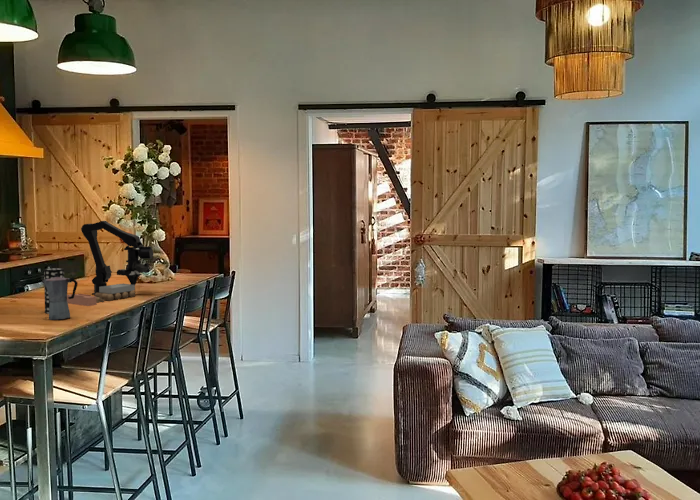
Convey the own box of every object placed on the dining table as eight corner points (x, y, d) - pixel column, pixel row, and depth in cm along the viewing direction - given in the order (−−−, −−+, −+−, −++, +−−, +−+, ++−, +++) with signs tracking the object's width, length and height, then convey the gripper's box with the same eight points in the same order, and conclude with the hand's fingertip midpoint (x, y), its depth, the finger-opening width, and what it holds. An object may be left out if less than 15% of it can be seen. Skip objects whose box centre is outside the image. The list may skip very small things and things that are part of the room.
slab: (99, 292, 344) (99, 286, 344) (122, 288, 358) (122, 283, 358) (111, 293, 340) (111, 288, 339) (134, 290, 354) (134, 284, 354)
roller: (83, 301, 335) (85, 295, 335) (88, 302, 337) (89, 296, 338) (94, 302, 331) (96, 296, 331) (99, 303, 334) (100, 297, 334)
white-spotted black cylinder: (68, 311, 307) (67, 268, 305) (55, 314, 299) (54, 270, 297) (54, 310, 309) (53, 267, 308) (40, 312, 302) (39, 269, 300)
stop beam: (65, 303, 330) (65, 294, 329) (74, 301, 334) (73, 292, 334) (88, 305, 322) (88, 296, 322) (96, 304, 327) (96, 295, 326)
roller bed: (78, 302, 333) (78, 295, 333) (121, 295, 358) (121, 288, 358) (92, 303, 329) (92, 297, 328) (135, 296, 354) (135, 290, 353)
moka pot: (46, 316, 293) (45, 271, 292) (82, 316, 295) (81, 272, 293) (38, 320, 284) (37, 274, 282) (75, 320, 285) (74, 274, 284)
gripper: (131, 260, 346) (131, 290, 347) (156, 258, 362) (156, 286, 363) (115, 259, 351) (116, 288, 352) (141, 256, 367) (141, 284, 369)
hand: (133, 286), depth 359 cm, fingers closed
